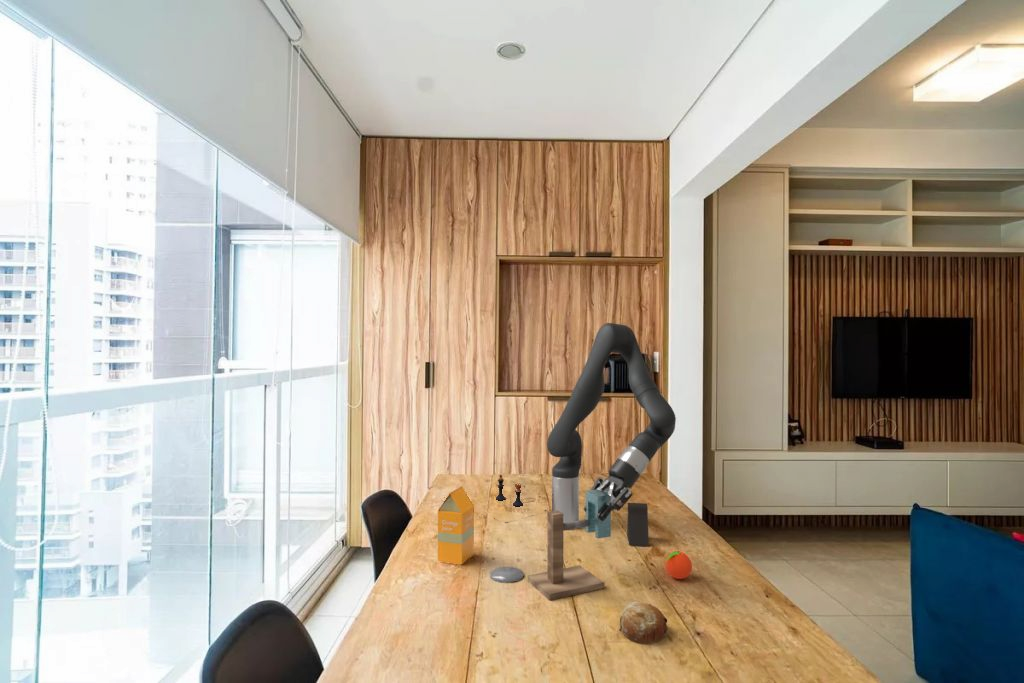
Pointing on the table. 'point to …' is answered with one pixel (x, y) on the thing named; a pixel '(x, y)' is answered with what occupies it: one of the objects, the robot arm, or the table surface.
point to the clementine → (678, 565)
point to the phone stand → (637, 524)
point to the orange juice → (456, 528)
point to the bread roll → (642, 623)
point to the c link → (593, 507)
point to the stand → (557, 578)
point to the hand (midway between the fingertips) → (592, 515)
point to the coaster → (506, 574)
